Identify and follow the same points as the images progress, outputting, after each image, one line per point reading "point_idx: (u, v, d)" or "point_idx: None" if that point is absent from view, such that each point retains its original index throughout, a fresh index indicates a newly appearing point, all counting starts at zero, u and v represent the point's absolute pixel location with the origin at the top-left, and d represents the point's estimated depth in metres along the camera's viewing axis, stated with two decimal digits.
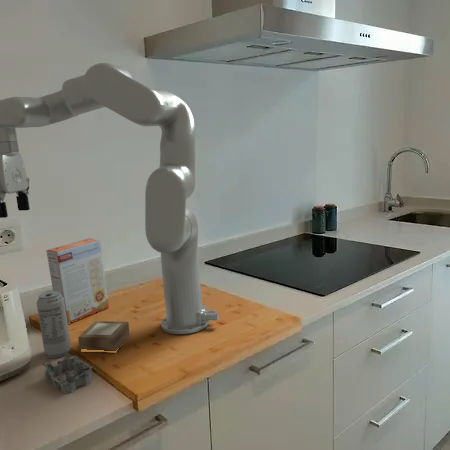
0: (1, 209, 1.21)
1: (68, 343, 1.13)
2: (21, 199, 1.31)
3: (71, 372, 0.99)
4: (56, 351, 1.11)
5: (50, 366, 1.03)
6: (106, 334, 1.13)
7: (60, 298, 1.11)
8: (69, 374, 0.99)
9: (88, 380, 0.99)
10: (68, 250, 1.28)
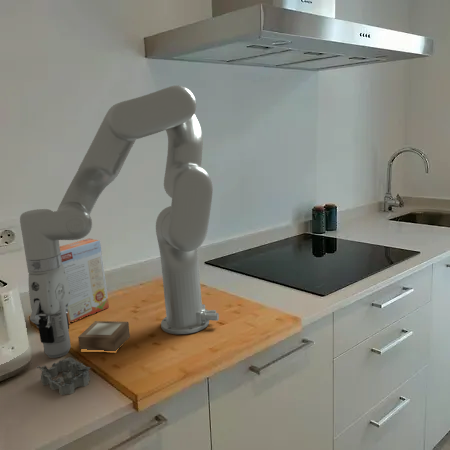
0: (48, 334, 1.09)
1: (68, 343, 1.13)
2: None
3: (68, 373, 0.99)
4: (56, 351, 1.11)
5: (45, 369, 1.02)
6: (106, 334, 1.13)
7: None
8: (67, 376, 0.98)
9: (86, 381, 0.99)
10: (68, 250, 1.28)
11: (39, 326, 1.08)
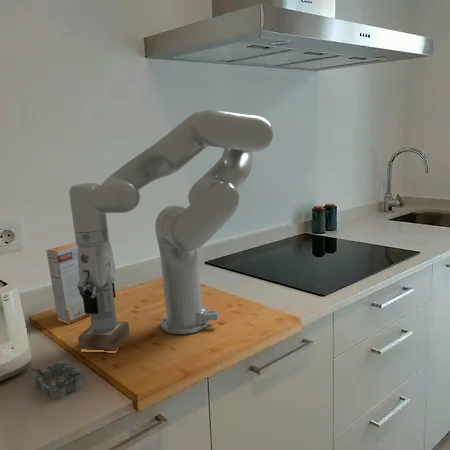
0: (92, 305, 1.09)
1: (115, 319, 1.15)
2: None
3: (61, 378, 0.97)
4: (103, 326, 1.13)
5: (39, 371, 1.01)
6: (106, 334, 1.13)
7: (108, 274, 1.13)
8: (59, 380, 0.97)
9: (78, 386, 0.97)
10: (68, 250, 1.28)
11: (84, 296, 1.08)
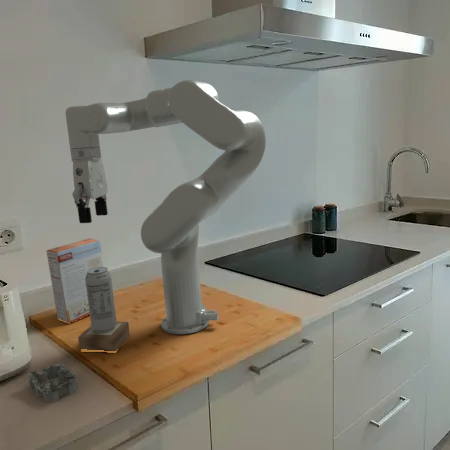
0: (86, 214, 1.22)
1: (115, 319, 1.15)
2: (100, 204, 1.31)
3: (55, 380, 0.96)
4: (103, 326, 1.13)
5: (35, 373, 1.01)
6: (106, 334, 1.13)
7: (108, 274, 1.13)
8: (53, 383, 0.96)
9: (72, 389, 0.96)
10: (68, 250, 1.28)
11: (79, 206, 1.21)
